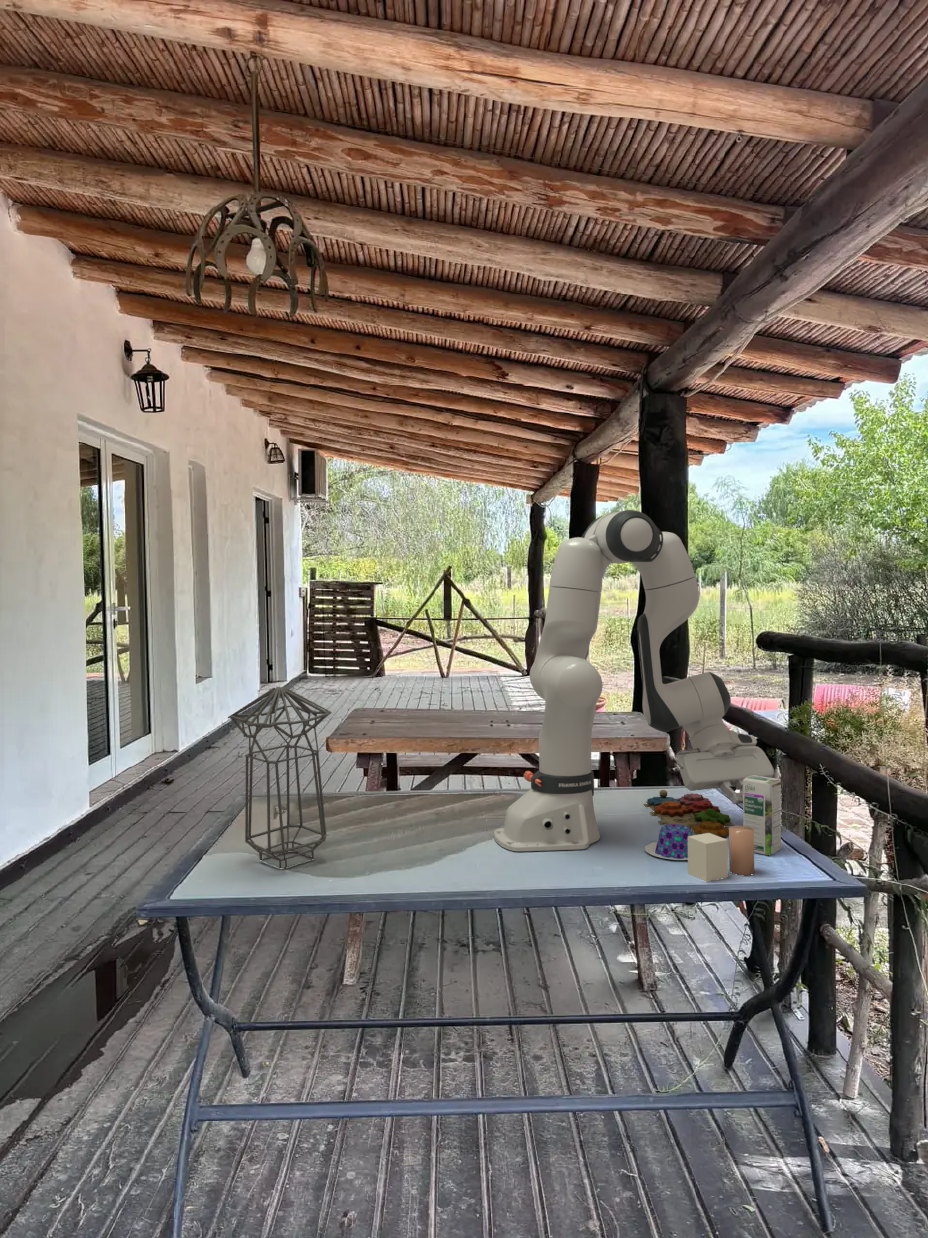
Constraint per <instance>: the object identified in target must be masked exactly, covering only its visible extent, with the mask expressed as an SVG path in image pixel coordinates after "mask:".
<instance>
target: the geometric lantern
mask: <svg viewBox="0 0 928 1238" xmlns="http://www.w3.org/2000/svg"><path fill="white" fill-rule="evenodd" d="M280 698H281V700H282V704H283V705H282V706H280V707H278V706H279V702H280ZM286 700H287V701H288V703H289V704H290V705H287V701H286ZM260 701H262V702H260ZM259 702H260V704H258V705H257V707H256V708H254V710H253V711H252V712H250V713H242V712H244V711H245V710H247V709H249V708H251V707H253V706H254V705H256V704H257V703H259ZM294 702H295V703H296V704H297V705H298V706H297V705H296V704H295V703H294ZM269 704H270V705H269ZM268 706H269V708H268V711H267V712H264V710H265V709H266V708H267V707H268ZM309 706H310V707H312V708H313V709H315V710H312V708H310V707H309ZM288 708H292V709H293V710H294V712H295V713H296V715H297V716H298V718H299V719H300V720H295V721H291V717H290V714H289V710H288ZM278 711H280V712H279V713H278V715H277V712H278ZM284 712H285V715H286V721H279V719H280V718H281V716H282V715H283V714H284ZM301 712H303V713H306V715H307V714H308V715H307V718H305V717H304V716H303V714H302V713H301ZM273 714H274V716H273ZM331 714H332V711H330V710H328V709H327V708H325V707H323V706H321V705H319V704H317V703H315V702H313V701H312V700H310V699H308V698H305V696H302V695H300V694H298V693H296V692H295V691H293V690H291V689H290V688H289V689H288V688H287V687H285V686H276V687H272V688H271V689H270V690H268V691H266V692H265V693H262V694H261V695H260V696H258V697H257V698H256V699H254V700H252V701H251V702H249V703H247V704H245V705H244V706H243V707H241V708H239V709H238V710H237V711H235V712H234V713H232V714H231V715H228V717H227V719H230V720H231V721H232V722H233V724H234V725H235V726H236V727H237V728H238V730H240V732H241V733H242V734H243V737H244V738H248V753H247V754H245V755H244V757H245V806H244V807H245V809H244V811H245V823H244V824H245V828H244V829H245V832H244V833H245V835H244V842H245V843H246V844H248V845H249V846H250V847H252V849H254V851H256V852H257V853H258V855H259V861H260V860H262V858H263V856H266V857H271V858H270V859H274V860H276V861H278V862H279V863H278V864H279V866H278V867H279V868H283V867H282V862H283V861H284V868H286V867H289V866H292V865H295V864H296V863H295V864H291V865H289V866H288V860H289V859H292V858H296V857H299V856H304V855H308V853H311V855H310V856H312V858H311V859H314V860H315V857H314V855H315V854H314V851H315V850H316V849H317V848H318V847H319V846H320V845H322V844H323V842H326V840H327V836H328V835H327V826H326V818H325V815H326V814H325V805H324V799H323V798H324V797H323V795H324V794H323V786H322V775H321V764H320V756H319V755H320V754H319V752H320V751H319V744H318V738H317V729H316V728H317V727H318V725H320V724H321V723H322V722H323V721H324V720H325V719H326V718H327V717H329V716H330V715H331ZM276 715H277V716H276ZM311 715H313V716H314V717H311ZM260 716H261V717H263V716H265V719H264V721H263V722H260V721H259V720H260ZM244 717H246V718H244ZM252 717H253V718H252ZM251 718H252V719H251ZM272 718H273V719H272ZM250 719H251V721H250ZM272 720H273V721H272ZM237 721H238V722H239V721H240V722H241V725H240V724H239V723H238V722H237ZM255 721H256V722H255ZM268 721H269V723H268ZM312 721H314V723H313V724H310V722H312ZM297 724H302V729H301V731H300V733H298V734H295V735H294V733H293V727H292V725H297ZM245 725H246V726H247V727H248V728H247V729H248V732H246V729H245ZM282 725H288V726H289V732H290V733H288V732H287V731H285V729H283V728H282V727H280V726H282ZM251 727H255V731H254V733H252V729H251ZM307 727H308V728H307ZM270 728H273V729H274V730H275V732H276V733H277V734H278V735H279V736H280V737H281V738H282V739H283V741H284V742H285V743H286V744H284V745H281V746H276V747H270V748H265V749H263V748H262V747H261V745H260V743H259V742H258V739H257V735H258V734H259V733H260V732H262V730H263V729H270ZM306 728H307V729H306ZM312 730H313V731H314V738H315V744H316V749H313V745H312V744H311V741H310V739H309V737H308V734H307V733H309V732H310V731H312ZM248 733H249V734H248ZM282 733H283V734H284V735H285V736H286V737H288V738H289V740H287V739H286V738H285V737H284V736H283V735H282ZM302 736H304V738H305V740H306V742H307V745H308V747H309V748H308V747H304V746H300V745H298V744H299V742H300V740H301V738H302ZM251 739H252V741H251ZM293 739H296V741H295V743H294V745H292V744H290V743H291V742H292V740H293ZM255 744H256V747H257V748H258V750H255V751H254V746H255ZM282 748H283V750H282V752H281V753H280V755H279V756H278V758H277V759H276V760H269V759H268V757H267V755H266V754H265V752H267V751H272V750H277V749H282ZM290 749H294V757H290ZM298 749H302V750H305V751H309V752H311V753H309V754H305V755H304V754H303V755H300V756H298ZM285 750H286V758H285V759H284V758H283V759H281V757H282V755H283V754H284V752H285ZM259 753H261V755H262V757H263V758H264V759H262V758H258V757H255V756H254V754H259ZM307 757H311V760H312V767H313V768H312V769H313V777H314V784H315V792H316V801H317V807H318V808H317V809H318V817H319V825H320V831H319V830H316V829H313V828H312V827H311V828H310V827H308V826H305V825H303V809H302V799H301V797H302V796H301V787H300V786H301V784H300V773H299V762H298V760H299V759H302V758H307ZM254 760H257V761H260V762H263V763H265V764H266V805H267V806H266V811H267V812H266V816H267V822H266V823H267V825H266V826H267V830H265V831H262V832H258V833H255V834H252V815H253V814H252V807H253V806H252V805H253V772H254V771H253V769H254V765H253V764H254ZM292 760H294V761H295V762H294V764H295V765H294V767H295V777H296V790H297V803H298V804H297V805H298V813H299V814H298V817H299V824H290V822H291V821H290V820H291V819H290V816H291V812H290V810H291V808H290V761H292ZM283 762H286V825H284V824H283V823H284V821H283V813H282V812H283V811H282V801H281V786H280V775H279V774H280V773H279V763H283ZM270 764H272V765H274V768H275V781H276V792H277V805H278V816H279V817H278V820H279V827H275V828H273V829H271V783H270V781H271V779H270V778H271V777H270ZM289 828H298V829H297V831H296V833H295V835H294V836H293V839H292V840H290V829H289ZM284 829H286V836H287V839H286V840H285V837H284V834H285V833H284ZM301 829H304V830H307V831H310V832H313V833H314V834H317V835H320V836H321V837H320V838H319V839H318V840H315V841H314V840H313V841H311V842H307V843H305V844H304V843H300V842H297V841H296V839H297V837H298V834H299V832H300V830H301ZM278 831H280V840H281V841H280V843H277V844H275V845H272V843H271V842H272V841H271V840H272V839H271V836H272V835H271V834H272V833H274V832H278ZM265 835H267V847H266V848H264V847H262V846H260V845H258V844H256V843H255V842H254V840H253V839H254V838H257V837H260V836H265ZM285 844H286V846H285ZM289 844H291V847H289ZM294 844H295V845H294ZM271 845H272V846H271ZM279 846H281V849H278V850H272V849H274V848H277V847H279ZM302 848H309V850H306V851H302V852H300V851H297V850H298V849H302ZM288 851H295V852H298V853H299V854H298V853H295V854H293V855H290V856H287V857H286V853H285V852H288ZM281 853H283V854H282V855H283V858H279V857H278V856H275V855H277V854H281ZM302 854H304V855H302ZM262 861H263V860H262Z"/></svg>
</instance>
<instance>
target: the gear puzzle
mask: <svg viewBox="0 0 928 1238" xmlns="http://www.w3.org/2000/svg"><path fill="white" fill-rule="evenodd" d="M658 794H659V796H653V797H650V798H649V797H648V798H647V800H646V802H645V803H643V804H642V806H643V805H644V806H645V807H650V809H651V810H652V811H650V812H649V814H650V815H651V816H652V817H658V818H659V819H660V820H658V824H659V825H660V826H665V825H669V824H672V825H675V824H677V825H681V826H686V827H688V828H689V829H690V830H691V832H693V834H694V835H699V834H705V833H711V834H714V835H716V836H719V837H726V836H727V835H729V827H724V826H730V827H732V826H734V825H733V823H732V822H731V818H730V815H729V814H724V813H722V812H721V809H720V807H719V806H715V805H714V804H713V803H712V802H711V800H710V798H708V797H704V796H703V794H699V793H693V792H691V793H686V794H684V795H682V796H681V797H678V798H674V797H672V796H668V791H667V790H666V789H661V790H660V791H659V793H658ZM646 803H647V804H646ZM644 806H643V807H644ZM645 807H644V808H645ZM653 811H654V812H653Z"/></svg>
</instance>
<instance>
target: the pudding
mask: <svg viewBox="0 0 928 1238" xmlns="http://www.w3.org/2000/svg"><path fill="white" fill-rule="evenodd" d="M688 836H693V831H692V829H689V828H688V827H686V826H681V825H677V824H675V825H672V824H669V825H661V827H660V829H659V833H658V837H657V841H654V842H652V843H649V844H646V846H645V847H644V851H645V852H646V853H648V854H650V855H651V856H654V857H658V858H660V859H667V860H672V861H688Z"/></svg>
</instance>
